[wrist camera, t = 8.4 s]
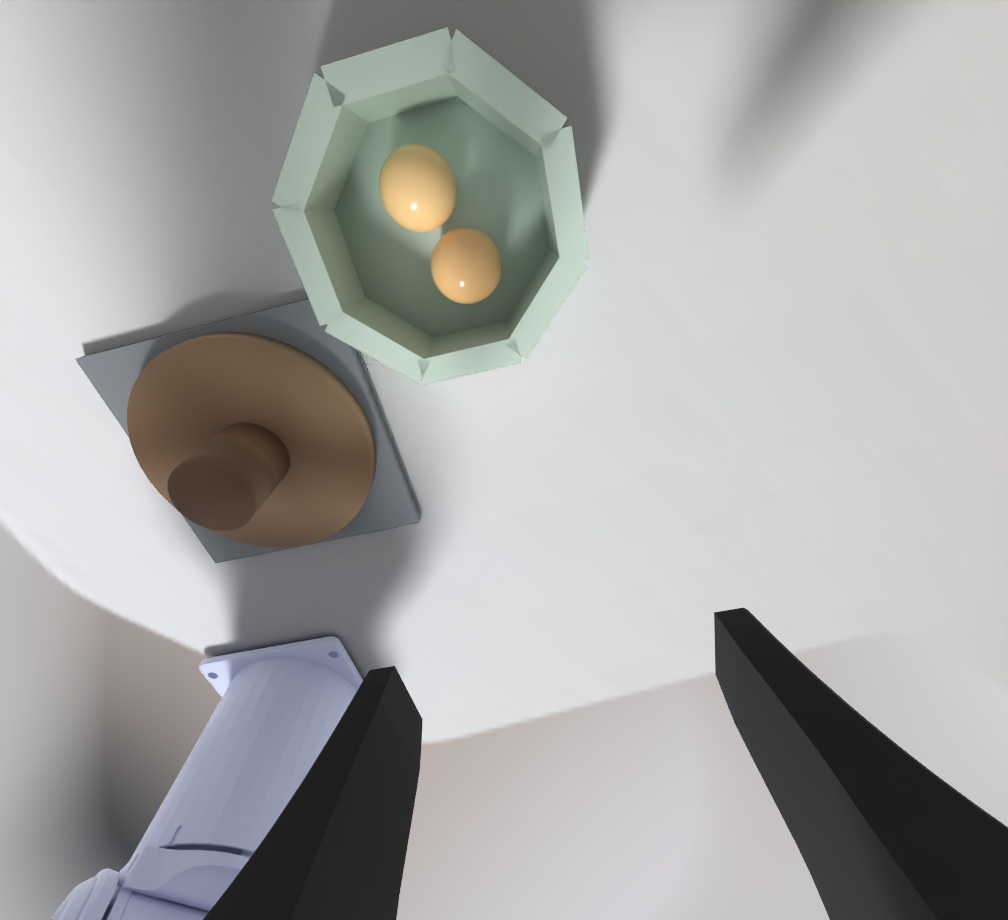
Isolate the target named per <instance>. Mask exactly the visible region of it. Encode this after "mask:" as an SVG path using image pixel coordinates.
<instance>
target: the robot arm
mask: <svg viewBox="0 0 1008 920" xmlns="http://www.w3.org/2000/svg"><path fill="white" fill-rule="evenodd" d="M714 619H715V664H716V676H717V679H718V681H719V684H720V687H721V689H722V692H723V694H724V697H725V700H726V702H727V705H728V707H729V710H730V712H731V715H732V717H733V720H734V722H735V724H736V726H737V728H738V730H739V732H740V735H741V737H742V738H743V740H744V742H745V744H746V746H747V748H748V750H749V752H750V754H751V756H752V758H753V760H754V762H755V764H756V766H757V768H758V770H759V772H760V773H761V776H762V778H763V779H764V782H765V783H766V786H767V787H768V789H769V791H770V793H771V795H772V797H773V799H774V801H775V803H776V805H777V807H778V809H779V811H780V813H781V815H782V817H783V819H784V820H785V823H786V825H787V827H788V829H789V830H790V832H791V834H792V836H793V838H794V840H795V842H796V844H797V846H798V848H799V850H800V852H801V855H802V857H803V859H804V861H805V863H806V865H807V867H808V869H809V871H810V874H811V876H812V878H813V880H814V883H815V885H816V887H817V890H818V892H819V895H820V897H821V899H822V902H823V904H824V906H825V909H826V911H827V914H828V916H829V918H830V920H1008V827H1007V826H1005V825H1004V824H1002V823H1001V822H999V821H998V820H997V819H995V818H994V817H992V816H991V815H990V814H988V813H987V812H985V811H984V810H983V809H981V808H980V807H978V806H977V805H975V804H974V803H973V802H971V801H970V800H969V799H967V798H966V797H965V796H963V795H962V794H961V793H959V792H958V791H957V790H955V789H954V788H953V787H951V786H950V785H949V784H947V783H946V782H944V781H943V780H942V779H940V778H939V777H938V776H936V775H935V774H934V773H933V772H931V771H930V770H929V769H927V768H926V767H925V766H923V765H922V764H921V763H919V762H918V761H917V760H916V759H914V758H913V757H912V756H911V755H909V754H908V753H907V752H906V751H904V750H903V749H902V748H901V747H899V746H898V745H897V744H896V743H894V742H893V741H892V740H891V739H889V738H888V737H887V736H886V735H885V734H883V733H882V732H881V731H880V730H878V729H877V728H876V727H875V726H874V725H872V724H871V723H870V722H869V721H867V720H866V719H865V718H864V717H863V716H861V715H860V714H859V713H858V712H857V711H856V710H854V709H853V708H852V707H851V706H850V705H849V704H847V703H846V702H845V701H844V700H843V699H842V698H841V697H840V696H838V695H837V694H836V693H835V692H834V691H833V690H832V689H830V688H829V687H828V686H827V685H826V684H825V683H824V682H823V681H821V680H820V679H819V678H818V677H817V676H816V675H815V674H814V673H812V672H811V671H810V670H809V669H808V668H807V667H806V666H805V665H804V664H803V663H801V661H799V660H798V659H797V658H796V657H795V656H794V655H793V654H792V653H791V652H790V651H789V650H788V649H787V648H786V647H785V646H784V645H783V644H782V643H780V642H779V641H778V640H777V639H776V638H775V637H774V636H773V635H772V634H771V633H770V632H769V631H768V630H767V629H766V628H765V627H764V626H763V625H762V624H761V623H760V622H759V621H758V620H757V619H756V618H755V617H754V616H753V615H752V614H751V613H750V612H749V611H748V610H747V609H745V608H739V609H733V610H727V611H721V612H715V613H714ZM199 669H200V671H201V672H202V674H203V675H204V676H205V677H206V678H207V679H208V681H209V682H210V683H211V684H212V686H213V687H214V688H215V689H216V690H217V692H218V693H219V694H220V695H221V697H222V699H221V700H220V702H219V704H218V706H217V707H216V709H215V711H214V713H213V715H212V716H211V718H210V720H209V722H208V723H207V725H206V727H205V729H204V731H203V732H202V734H201V736H200V737H199V739H198V741H197V743H196V745H195V746H194V748H193V750H192V752H191V753H190V755H189V757H188V759H187V760H186V762H185V764H184V766H183V768H182V769H181V771H180V773H179V775H178V776H177V778H176V780H175V782H174V783H173V785H172V787H171V789H170V791H169V792H168V794H167V796H166V797H165V799H164V801H163V803H162V805H161V806H160V808H159V810H158V812H157V813H156V815H155V817H154V819H153V820H152V822H151V824H150V826H149V827H148V829H147V831H146V833H145V835H144V837H143V838H142V840H141V842H140V844H139V845H138V847H137V849H136V850H135V852H134V854H133V856H132V858H131V859H130V861H129V862H128V864H127V865H125V867H124V868H123V869H122V870H121V871H120V872H119V873H118V872H116V871H113V870H111V869H103V870H101V871H100V872H99V873H98V874H97V875H96V876H95V877H92V878H90V879H88V880H86V881H85V882H83V883H81V884H79V885H77V886H76V887H75V888H74V889H73V890H72V891H71V893H70V894H69V895H68V896H67V898H66V899H65V900H64V901H63V903H62V904H61V905H60V907H59V908H58V910H57V911H56V912H55V914H54V915H53V917H52V918H51V920H396V916H397V909H398V901H399V894H400V887H401V881H402V874H403V869H404V863H405V857H406V851H407V845H408V839H409V833H410V827H411V821H412V814H413V808H414V802H415V796H416V790H417V783H418V777H419V770H420V756H421V739H422V718H421V716H420V714H419V712H418V710H417V708H416V706H415V704H414V702H413V700H412V698H411V697H410V695H409V693H408V691H407V689H406V687H405V685H404V683H403V681H402V679H401V677H400V675H399V673H398V671H397V670H396V668H395V666H392V667H386V668H380V669H374V670H370V671H369V672H368V674H367V675H366V677H365V678H364V680H363V679H362V678H361V676H360V674H359V672H358V671H357V669H356V667H355V666H354V664H353V662H352V660H351V659H350V657H349V655H348V653H347V652H346V650H345V648H344V647H343V645H342V643H341V641H340V640H339V639H338V638H336V637H332V636H331V637H323V638H318V639H312V640H306V641H301V642H295V643H289V644H284V645H278V646H272V647H267V648H261V649H255V650H250V651H244V652H238V653H233V654H227V655H221V656H216V657H210V658H206V659H204V660H203V661H202V662H201V664H200V665H199Z"/></svg>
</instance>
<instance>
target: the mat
mask: <svg viewBox="0 0 1008 920" xmlns="http://www.w3.org/2000/svg"><path fill="white" fill-rule="evenodd" d="M327 325H328V324H325V325H321V326H320V325H319V322H318V320H317V317H316V315H315V313H314V310H313V308H312V305H311V303H310V301H309V299H305V300H301V301H298V302H294V303H290V304H286V305H282V306H278V307H274V308H270V309H266V310H262V311H258V312H255V313H251V314H247V315H243V316H239V317H235V318H231V319H227V320H223V321H219V322H215V323H212V324H208V325H204V326H200V327H196V328H192V329H188V330H184V331H180V332H176V333H172V334H169V335H165V336H161V337H157V338H153V339H149V340H145V341H141V342H137V343H133V344H129V345H126V346H122V347H118V348H114V349H110V350H106V351H102V352H98V353H94V354H90V355H86V356H83V357H80V358H77V359H76V361H77V362H78V364H79V365H80V367H81V368H82V370H83V371H84V372H85V374H86V375H87V377H88V378H89V380H90V381H91V383H92V384H93V386H94V387H95V388H96V390H97V391H98V393H99V394H100V396H101V397H102V399H103V400H104V402H105V403H106V405H107V406H108V407H109V409H110V410H111V412H112V413H113V415H114V416H115V418H116V419H117V421H118V422H119V423H120V425H121V426H122V428H123V429H124V431H125V432H126V434H127V435H128V437H129V433H128V427H127V407H128V401H129V396H130V393H131V390H132V387H133V385H134V383H135V381H136V379H137V378H138V376H139V374H140V373H141V371H142V370H143V369H144V368H145V367H146V366H147V364H148V363H149V362H150V361H152V360H153V359H154V358H155V357H157V356H158V355H159V354H160V353H162V352H164V351H166V350H168V349H170V348H171V347H173V346H176V345H178V344H180V343H183V342H185V341H187V340H190V339H193V338H196V337H199V336H202V335H207V334H212V333H220V332H241V333H252V334H256V335H261V336H266V337H270V338H273V339H276V340H278V341H281V342H284V343H287V344H289V345H291V346H293V347H295V348H297V349H300V350H302V351H303V352H305V353H307V354H308V355H310V356H312V357H313V358H315V359H317V360H318V361H319V362H321V363H322V364H323V365H324V366H326V367H327V368H328V369H330V370H331V371H332V372H333V373H334V374H335V375H336V376H337V377H338V378H339V379H340V380H341V381H342V382H343V383H344V384H345V385H346V386H347V387H348V389H349V390H350V391H351V392H352V393H353V395H354V396H355V398H356V399H357V401H358V402H359V404H360V405H361V407H362V409H363V411H364V413H365V415H366V417H367V419H368V421H369V423H370V426H371V429H372V432H373V435H374V441H375V446H376V460H377V462H376V471H375V476H374V480H373V483H372V486H371V488H370V491H369V493H368V495H367V497H366V499H365V501H364V504H363V506H362V507H361V509H360V510H359V512H358V513H357V515H356V516H355V517H354V518H353V519H352V520H351V521H350V522H349V523H348V524H347V525H346V526H345V527H343V528H342V529H341V530H340V531H338V532H336V533H335V534H333V535H331V536H329V537H327V538H325V539H323V540H320V541H318V542H314V543H319V542H324V541H329V540H334V539H339V538H344V537H349V536H354V535H359V534H364V533H369V532H374V531H380V530H385V529H390V528H395V527H400V526H405V525H410V524H415V523H419V521H420V515H419V512H418V510H417V507H416V505H415V502H414V499H413V497H412V494H411V492H410V489H409V487H408V484H407V481H406V479H405V476H404V474H403V471H402V469H401V466H400V463H399V461H398V458H397V456H396V453H395V451H394V448H393V445H392V443H391V440H390V438H389V435H388V433H387V430H386V427H385V425H384V422H383V420H382V417H381V415H380V412H379V409H378V407H377V404H376V402H375V399H374V397H373V394H372V391H371V389H370V386H369V384H368V381H367V379H366V376H365V373H364V371H363V368H362V366H361V363H360V361H359V358H358V355H357V353H356V350H355V348H354V347H352V346H350V345H348V344H347V343H345V342H343V341H341V340H339V339H338V338H336V337H334V336H332V335H331V334H329V333H327V332H325V330H326V328H327ZM183 517H184V518H185V520H186V521H187V522H188V524H189V525H190V527H191V528H192V530H193V531H194V533H195V534H196V536H197V537H198V538H199V540H200V541H201V543H202V544H203V546H204V547H205V549H206V550H207V552H208V553H209V555H210V556H211V557H212V559H213V560H214V562H215V563H219V562H224V561H229V560H234V559H239V558H244V557H249V556H254V555H259V554H264V553H269V552H274V551H279V550H284V549H289V548H294V547H280V548H276V547H262V546H256V545H250V544H246V543H242V542H238V541H235V540H232V539H229V538H226V537H223V536H221V535H219V534H216V533H214V532H212V531H210V530H208V529H206V528H204V527H202V526H200V525H197V524H195V523H194V522H192V521H190V520H189V519H187V518H186V517H185V516H184V515H183ZM314 543H311V544H314ZM307 545H309V544H307ZM302 546H304V545H302ZM295 547H299V546H295Z"/></svg>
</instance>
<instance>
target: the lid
mask: <svg viewBox="0 0 1008 920" xmlns="http://www.w3.org/2000/svg"><path fill="white" fill-rule="evenodd" d="M127 427H128V433H129V439H130V442H131V445H132V448H133V451H134V454H135V456H136V458H137V460H138V462H139V464H140V466H141V468H142V470H143V471H144V473H145V474H146V476H147V478H148V479H149V480H150V482H151V483H152V484H153V485H154V487H155V488H156V489H157V491H158V492H159V493H160V494H161V495H162V496H163V497H164V498H165V499H166V500H167V501H168V502H169V503H170V504H171V505H173V506H174V507H175V508H176V509H177V510H178V511H179V512H180V513H181V514H182V515H184V516H185V517H186V518H187V519H189V520H190V521H192V522H194V523H195V524H197V525H200V526H202V527H204V528H206V529H208V530H210V531H212V532H214V533H216V534H219V535H221V536H223V537H226V538H229V539H232V540H235V541H238V542H242V543H246V544H250V545H256V546H262V547H276V548H280V547H295V546H302V545H307V544H311V543H314V542H318V541H320V540H323V539H325V538H327V537H329V536H331V535H333V534H335V533H336V532H338V531H340V530H341V529H342V528H343V527H345V526H346V525H347V524H348V523H349V522H350V521H351V520H352V519H353V518H354V517H355V516H356V515H357V513H358V512H359V510H360V509H361V507H362V506H363V504H364V501H365V499H366V497H367V495H368V493H369V491H370V488H371V486H372V483H373V480H374V476H375V471H376V462H377V460H376V446H375V441H374V435H373V432H372V429H371V426H370V423H369V421H368V419H367V417H366V415H365V413H364V411H363V409H362V407H361V405H360V404H359V402H358V401H357V399H356V398H355V396H354V395H353V393H352V392H351V391H350V390H349V389H348V387H347V386H346V385H345V384H344V383H343V382H342V381H341V380H340V379H339V378H338V377H337V376H336V375H335V374H334V373H333V372H332V371H331V370H330V369H328V368H327V367H326V366H324V365H323V364H322V363H321V362H319V361H318V360H317V359H315V358H313V357H312V356H310V355H308V354H307V353H305V352H303V351H302V350H300V349H297V348H295V347H293V346H291V345H289V344H287V343H284V342H281V341H278V340H276V339H273V338H270V337H266V336H261V335H256V334H252V333H241V332H220V333H212V334H207V335H202V336H199V337H196V338H193V339H190V340H187V341H185V342H183V343H180V344H178V345H176V346H173V347H171V348H170V349H168V350H166V351H164V352H162V353H160V354H159V355H158V356H157V357H155V358H154V359H153V360H152V361H150V362H149V363H148V364H147V366H146V367H145V368H144V369H143V370H142V371H141V373H140V374H139V376H138V378H137V379H136V381H135V383H134V385H133V387H132V390H131V393H130V396H129V401H128V407H127Z"/></svg>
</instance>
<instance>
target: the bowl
mask: <svg viewBox="0 0 1008 920" xmlns="http://www.w3.org/2000/svg"><path fill="white" fill-rule="evenodd" d="M320 67H321V70H322V73H323V76H324V79H325V80H324V79H323V78H321V77H320V76H318V75H317V74H316V73H314V75H313V78H312V81H311V84H310V87H309V90H308V93H307V96H306V99H305V102H304V105H303V108H302V111H301V114H300V116H299V119H298V122H297V125H296V128H295V131H294V134H293V137H292V140H291V143H290V146H289V149H288V152H287V155H286V158H285V161H284V164H283V167H282V170H281V173H280V176H279V179H278V182H277V185H276V188H275V191H274V194H273V197H272V200H271V201H272V202H274V203H275V204H277V205H278V206H280V207H278V208H275V209H272V212H273V214H274V216H275V219H276V221H277V224H278V226H279V228H280V231H281V233H282V236H283V238H284V240H285V243H286V245H287V248H288V250H289V252H290V255H291V257H292V260H293V262H294V264H295V267H296V269H297V272H298V274H299V277H300V279H301V281H302V284H303V286H304V289H305V291H306V293H307V296H308V298H309V301H310V303H311V305H312V308H313V310H314V313H315V315H316V317H317V320H318V322H319V325H320V326H321V325H325V324H328V325H327V328H326V330H325V332H327V333H329V334H331V335H332V336H334V337H336V338H338V339H339V340H341V341H343V342H345V343H347V344H348V345H350V346H352V347H354V348H355V349H357V350H359V351H361V352H363V353H364V354H366V355H368V356H370V357H371V358H373V359H375V360H377V361H379V362H380V363H382V364H384V365H386V366H388V367H389V368H391V369H393V370H395V371H396V372H398V373H400V374H402V375H404V376H405V377H407V378H409V379H411V380H412V381H414V382H416V383H418V384H419V383H420V381H421V379H422V377H423V380H424V383H425V385H427V384H431V383H436V382H440V381H444V380H449V379H453V378H457V377H462V376H466V375H470V374H475V373H479V372H484V371H488V370H492V369H497V368H501V367H505V366H510V365H514V364H518V363H521V356H523V357H524V358H526V359H527V358H528V357H529V355H530V354H531V352H532V350H533V349H534V347H535V346H536V344H537V343H538V341H539V340H540V338H541V337H542V335H543V334H544V332H545V331H546V329H547V328H548V326H549V325H550V323H551V321H552V320H553V318H554V317H555V315H556V314H557V312H558V311H559V309H560V308H561V306H562V305H563V303H564V302H565V300H566V299H567V297H568V296H569V294H570V293H571V291H572V289H573V288H574V286H575V285H576V283H577V282H578V280H579V279H580V277H581V276H582V274H583V273H584V271H585V270H586V268H587V267H588V266H586V265H585V264H584V263H582V262H581V261H583V260H587V259H589V252H588V245H587V237H586V230H585V222H584V215H583V207H582V200H581V192H580V185H579V177H578V170H577V162H576V155H575V147H574V140H573V132H572V126H569V127H565V128H562V127H563V125H564V123H565V121H566V119H567V117H566V116H565V115H563V114H562V113H561V112H560V111H558V110H557V109H556V108H555V107H553V106H552V105H551V104H550V103H548V102H547V101H546V100H545V99H543V98H542V97H541V96H540V95H538V94H537V93H536V92H535V91H533V90H532V89H531V88H530V87H528V86H527V85H526V84H525V83H523V82H522V81H521V80H520V79H518V78H517V77H516V76H515V75H513V74H512V73H511V72H510V71H509V70H507V69H506V68H505V67H504V66H502V65H501V64H500V63H499V62H497V61H496V60H495V59H494V58H492V57H491V56H490V55H489V54H487V53H486V52H485V51H484V50H482V49H481V48H480V47H479V46H477V45H476V44H475V43H474V42H472V41H471V40H470V39H469V38H467V37H466V36H465V35H464V34H462V33H461V32H460V31H459V30H457V29H456V31H455V33H454V36H453V38H452V40H451V36H450V33H449V29H448V27H446V28H443V29H440V30H436V31H433V32H430V33H427V34H423V35H420V36H417V37H414V38H411V39H407V40H404V41H401V42H398V43H394V44H391V45H388V46H385V47H381V48H378V49H375V50H372V51H368V52H365V53H362V54H359V55H355V56H352V57H349V58H346V59H342V60H339V61H336V62H333V63H330V64H326V65H323V66H320ZM561 128H562V129H561ZM520 355H521V356H520Z"/></svg>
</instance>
